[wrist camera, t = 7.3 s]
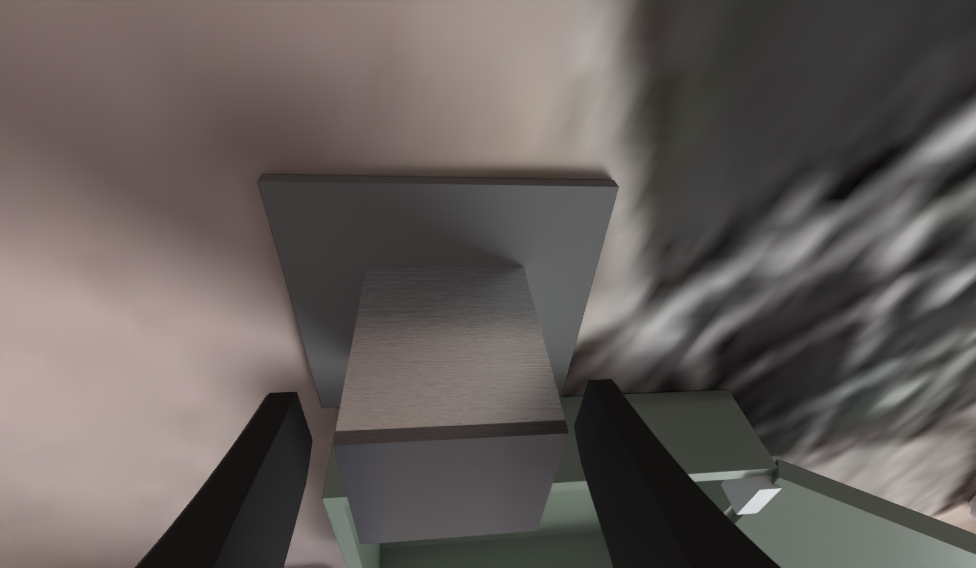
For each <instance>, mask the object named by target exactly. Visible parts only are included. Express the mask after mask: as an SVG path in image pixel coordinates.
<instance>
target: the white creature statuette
mask: <svg viewBox="0 0 976 568" xmlns="http://www.w3.org/2000/svg"><path fill="white" fill-rule="evenodd" d="M969 503H970V506H971V510H970V514H971V515H972V517H973V518H974V519H975V521H976V495H975V496H973V499H971V501H970V502H969Z"/></svg>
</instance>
